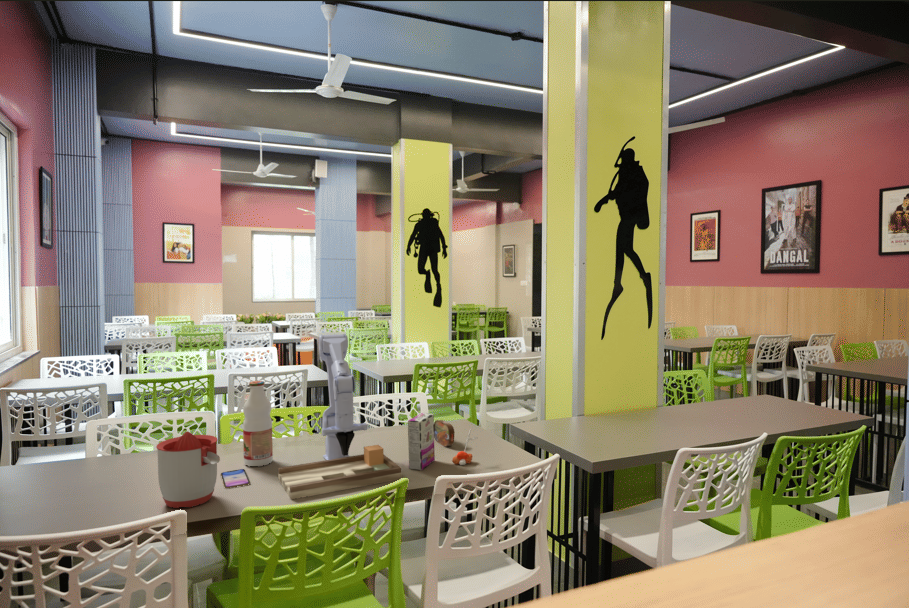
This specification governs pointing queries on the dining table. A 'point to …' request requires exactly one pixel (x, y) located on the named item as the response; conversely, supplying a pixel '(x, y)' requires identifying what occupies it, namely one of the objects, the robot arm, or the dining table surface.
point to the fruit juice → (257, 427)
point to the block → (373, 455)
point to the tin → (444, 433)
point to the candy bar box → (421, 441)
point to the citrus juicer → (187, 469)
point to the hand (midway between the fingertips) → (344, 454)
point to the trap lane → (335, 475)
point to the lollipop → (463, 454)
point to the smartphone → (235, 478)
